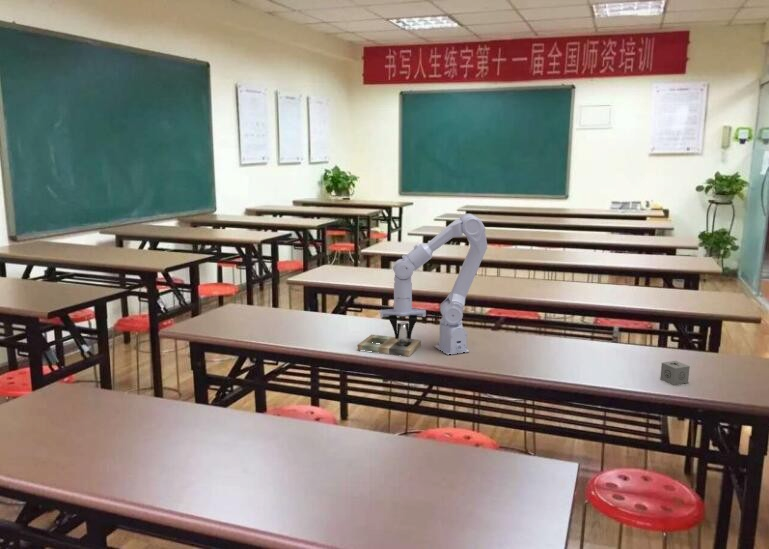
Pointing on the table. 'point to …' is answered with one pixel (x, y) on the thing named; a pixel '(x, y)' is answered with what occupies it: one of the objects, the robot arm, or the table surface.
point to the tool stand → (388, 345)
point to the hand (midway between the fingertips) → (402, 337)
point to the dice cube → (674, 372)
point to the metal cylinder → (402, 334)
